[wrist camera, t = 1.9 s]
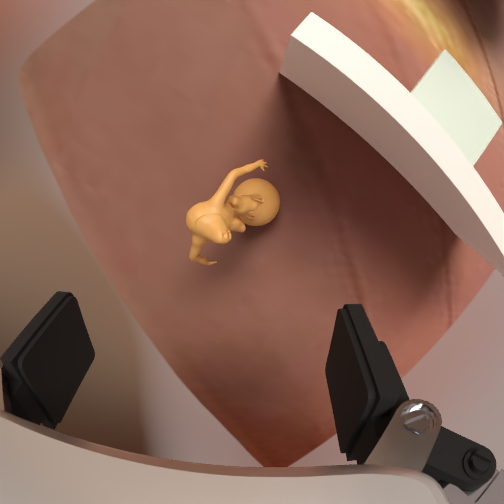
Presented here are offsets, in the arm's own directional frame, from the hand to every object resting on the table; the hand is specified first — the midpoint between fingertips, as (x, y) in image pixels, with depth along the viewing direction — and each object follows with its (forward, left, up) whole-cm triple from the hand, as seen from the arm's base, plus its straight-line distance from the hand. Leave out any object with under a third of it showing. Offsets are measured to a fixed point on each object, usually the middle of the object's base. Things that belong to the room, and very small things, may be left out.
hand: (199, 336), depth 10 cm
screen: (-13, -5, -19) cm, 24 cm away
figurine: (0, 0, -19) cm, 19 cm away
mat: (-20, -9, -19) cm, 29 cm away
